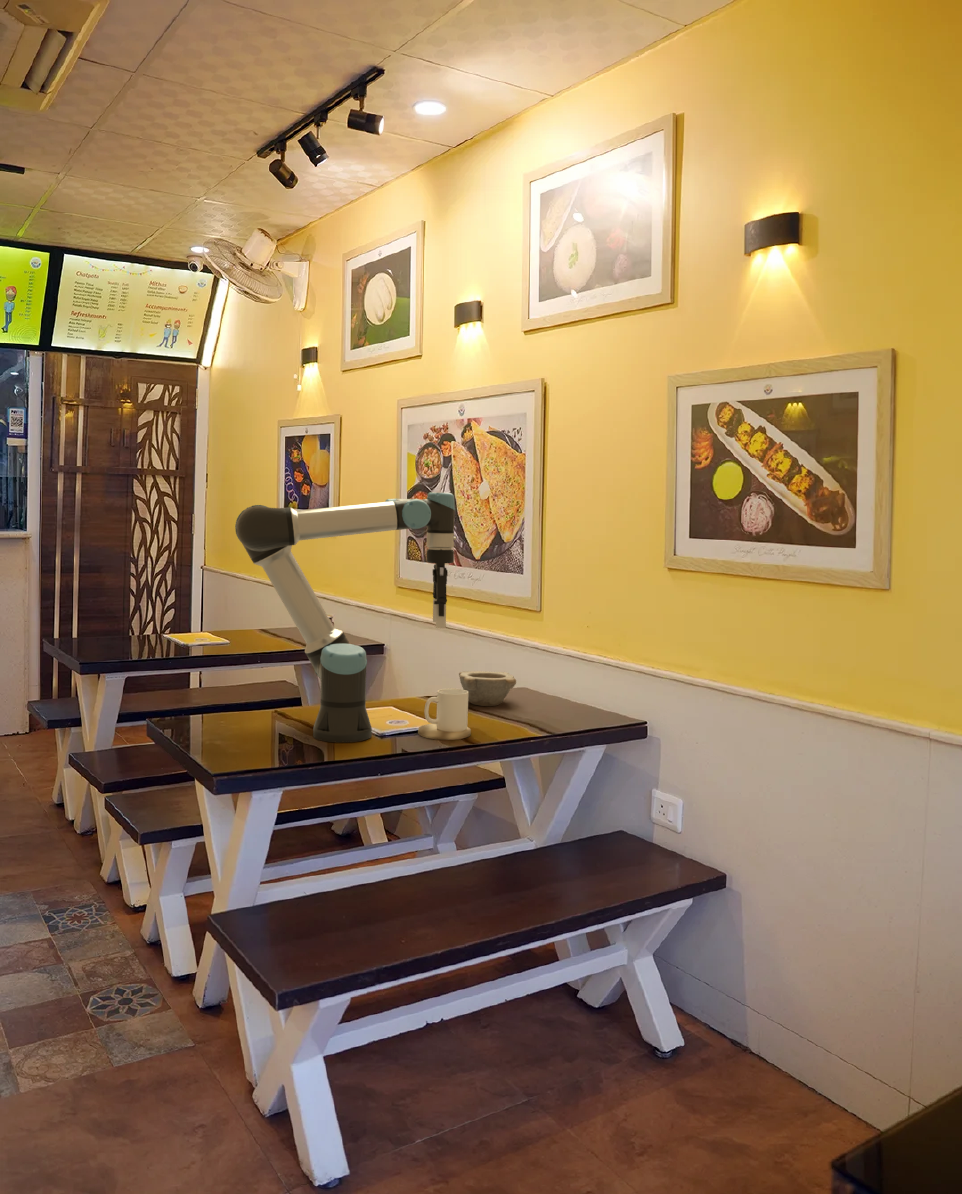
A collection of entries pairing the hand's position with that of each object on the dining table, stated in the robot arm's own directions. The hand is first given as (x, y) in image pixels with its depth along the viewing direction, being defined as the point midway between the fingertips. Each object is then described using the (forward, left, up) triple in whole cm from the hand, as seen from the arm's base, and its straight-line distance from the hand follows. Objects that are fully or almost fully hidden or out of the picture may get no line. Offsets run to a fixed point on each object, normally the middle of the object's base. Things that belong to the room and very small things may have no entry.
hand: (439, 625), depth 278 cm
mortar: (+18, +26, -28) cm, 42 cm away
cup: (+1, -15, -26) cm, 30 cm away
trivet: (0, -14, -27) cm, 31 cm away
